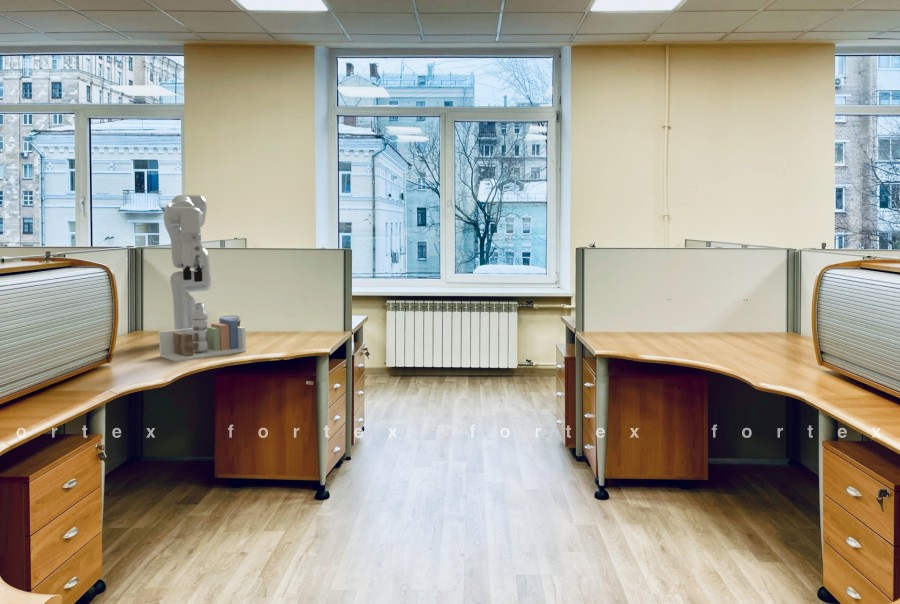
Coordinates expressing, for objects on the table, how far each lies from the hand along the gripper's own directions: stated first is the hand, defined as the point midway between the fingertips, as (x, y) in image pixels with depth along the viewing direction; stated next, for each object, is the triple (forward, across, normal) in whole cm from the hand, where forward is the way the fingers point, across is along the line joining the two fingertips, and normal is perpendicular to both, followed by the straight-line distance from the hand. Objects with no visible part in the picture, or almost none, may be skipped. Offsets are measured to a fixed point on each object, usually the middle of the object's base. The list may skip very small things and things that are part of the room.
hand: (192, 280), depth 288 cm
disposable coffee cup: (+31, +13, -23) cm, 40 cm away
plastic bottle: (+30, -2, -1) cm, 30 cm away
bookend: (+29, -2, +6) cm, 30 cm away
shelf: (+30, -2, -2) cm, 30 cm away
